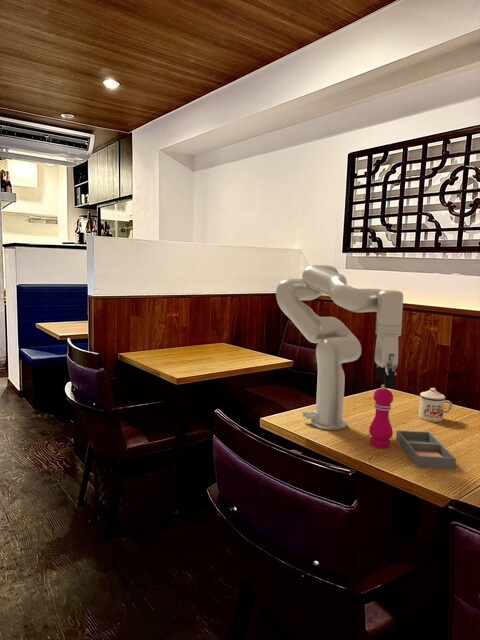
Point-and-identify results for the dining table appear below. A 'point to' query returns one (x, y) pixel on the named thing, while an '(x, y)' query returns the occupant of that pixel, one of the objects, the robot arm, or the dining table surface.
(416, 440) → the tray
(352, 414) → the dining table surface
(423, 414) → the teacup with lid
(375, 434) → the pepper mill
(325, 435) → the dining table surface
